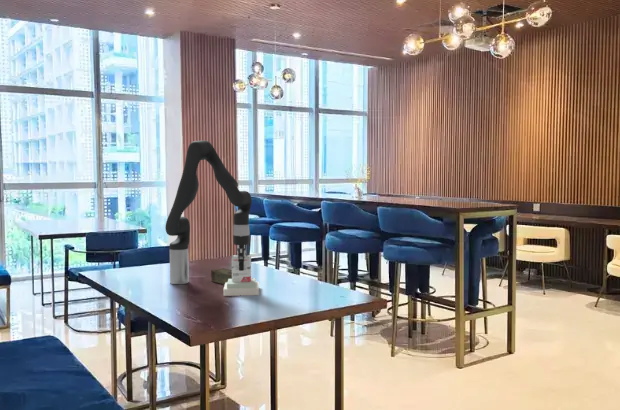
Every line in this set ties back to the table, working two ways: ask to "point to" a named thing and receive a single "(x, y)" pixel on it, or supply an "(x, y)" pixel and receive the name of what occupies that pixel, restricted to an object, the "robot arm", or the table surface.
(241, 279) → the ink box
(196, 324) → the table surface
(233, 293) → the mint framed tile
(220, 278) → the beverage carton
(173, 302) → the table surface
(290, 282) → the table surface
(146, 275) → the table surface
